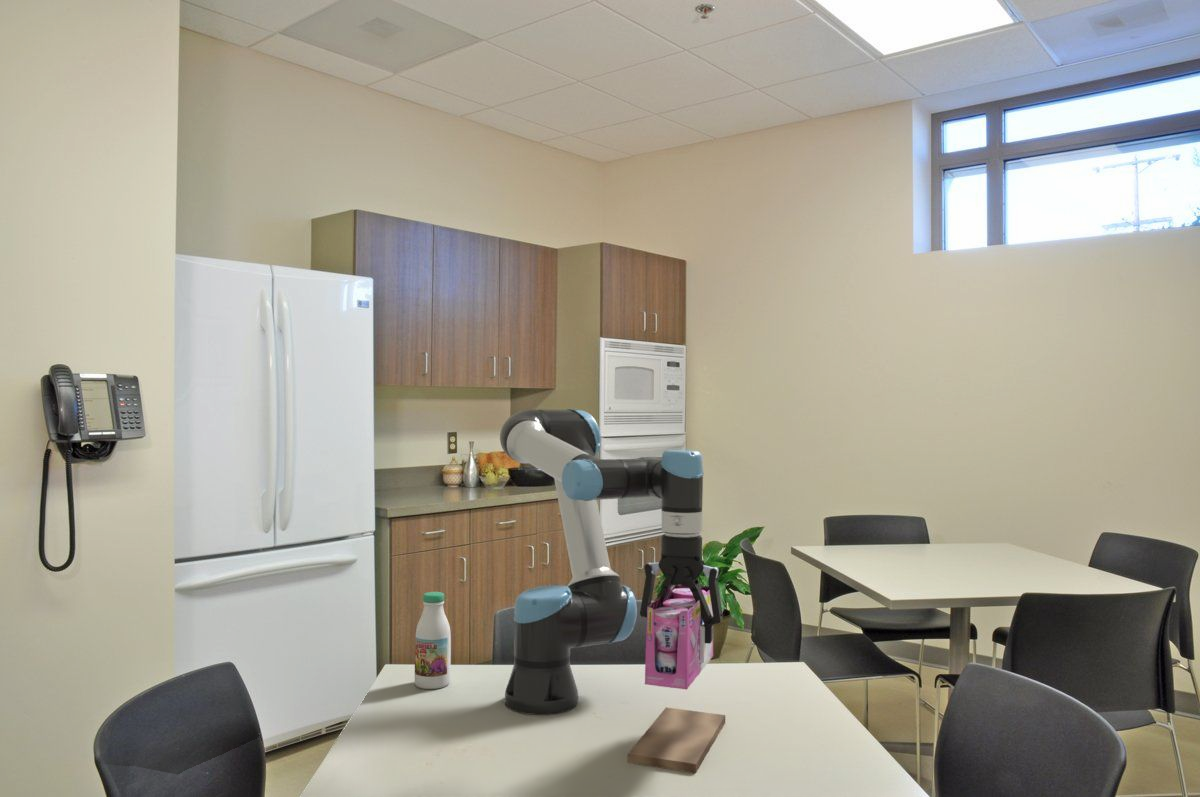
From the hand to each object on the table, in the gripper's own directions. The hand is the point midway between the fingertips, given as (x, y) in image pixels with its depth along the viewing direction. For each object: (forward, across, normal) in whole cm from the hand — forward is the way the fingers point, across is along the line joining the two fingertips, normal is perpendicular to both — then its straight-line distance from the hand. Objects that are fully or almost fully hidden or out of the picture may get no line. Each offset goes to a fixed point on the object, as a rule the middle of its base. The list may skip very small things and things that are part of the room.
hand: (680, 658), depth 158 cm
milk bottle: (+15, -59, +12) cm, 62 cm away
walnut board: (+15, 0, 0) cm, 15 cm away
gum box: (+2, 0, 0) cm, 3 cm away
